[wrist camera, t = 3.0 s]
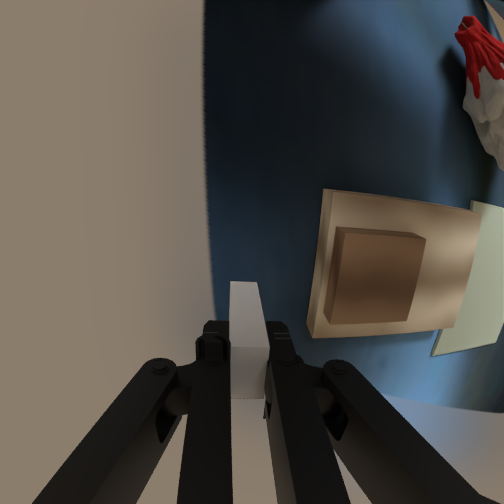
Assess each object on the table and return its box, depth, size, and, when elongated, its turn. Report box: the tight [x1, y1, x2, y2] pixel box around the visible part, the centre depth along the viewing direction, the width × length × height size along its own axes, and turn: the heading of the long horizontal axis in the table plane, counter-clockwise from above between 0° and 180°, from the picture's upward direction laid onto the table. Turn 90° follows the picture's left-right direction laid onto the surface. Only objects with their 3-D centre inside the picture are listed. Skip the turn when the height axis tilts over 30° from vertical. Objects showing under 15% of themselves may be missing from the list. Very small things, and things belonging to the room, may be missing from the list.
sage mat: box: [431, 200, 504, 356], centre depth 26 cm, size 18×13×1 cm
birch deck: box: [306, 189, 482, 338], centre depth 24 cm, size 12×16×2 cm
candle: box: [455, 16, 504, 171], centre depth 16 cm, size 9×11×15 cm
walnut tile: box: [323, 226, 426, 325], centre depth 21 cm, size 7×7×2 cm
